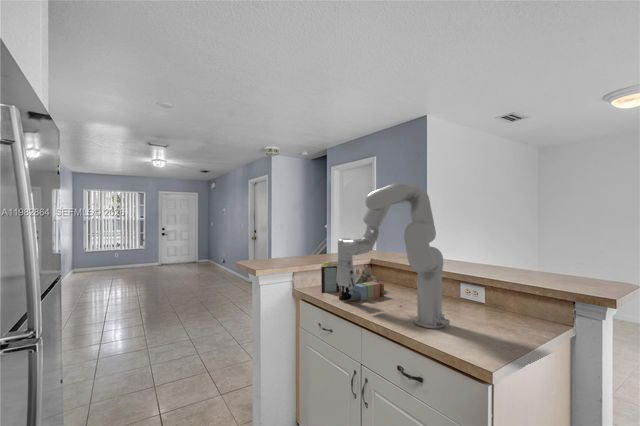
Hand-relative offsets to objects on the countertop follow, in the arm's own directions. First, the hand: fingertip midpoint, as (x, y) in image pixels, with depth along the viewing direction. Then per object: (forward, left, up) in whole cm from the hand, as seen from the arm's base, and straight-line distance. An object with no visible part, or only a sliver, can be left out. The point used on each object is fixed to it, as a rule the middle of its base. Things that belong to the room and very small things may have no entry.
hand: (345, 299), depth 155 cm
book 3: (0, -19, -1) cm, 19 cm away
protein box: (+26, -10, -2) cm, 28 cm away
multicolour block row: (0, -11, -2) cm, 11 cm away
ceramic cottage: (+12, -24, -3) cm, 27 cm away
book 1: (0, -10, -1) cm, 10 cm away
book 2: (0, -15, -1) cm, 15 cm away
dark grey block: (0, -5, -1) cm, 5 cm away
